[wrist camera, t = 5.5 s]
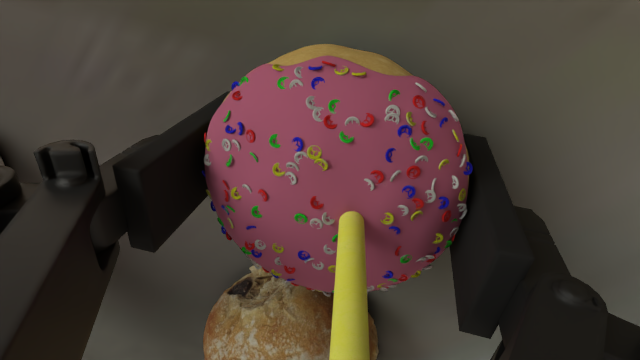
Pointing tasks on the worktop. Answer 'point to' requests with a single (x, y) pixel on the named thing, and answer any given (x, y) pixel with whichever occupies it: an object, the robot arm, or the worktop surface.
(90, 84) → the worktop surface
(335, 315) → the cupcake
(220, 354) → the bread roll
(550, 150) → the worktop surface
